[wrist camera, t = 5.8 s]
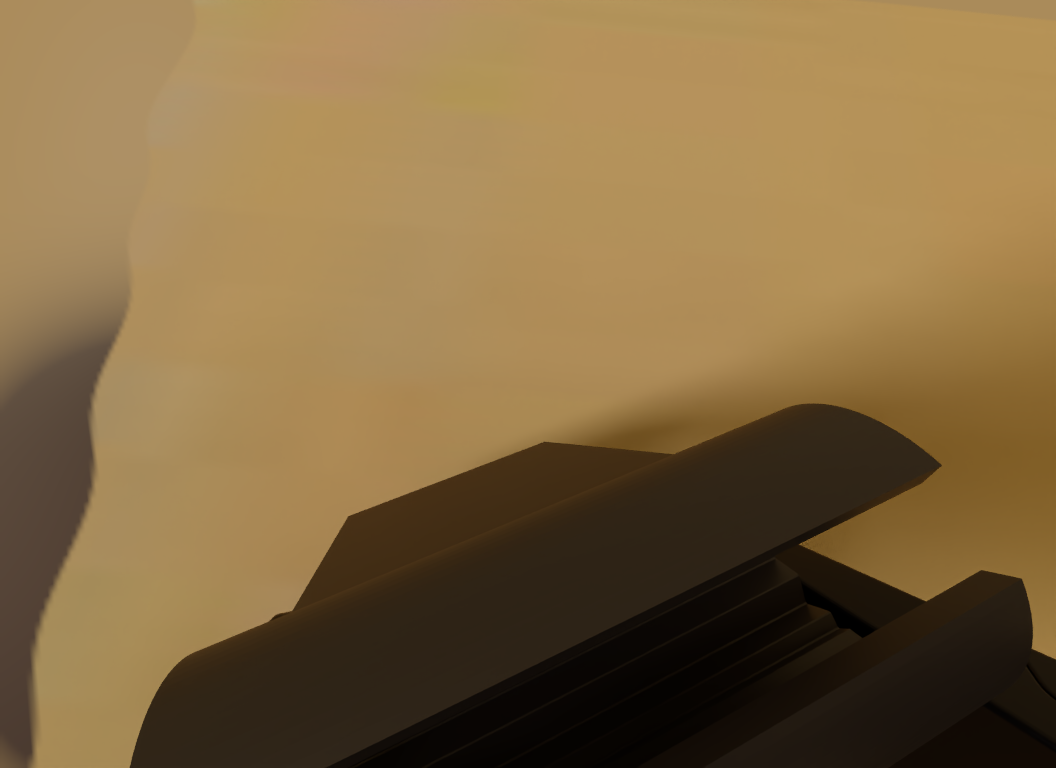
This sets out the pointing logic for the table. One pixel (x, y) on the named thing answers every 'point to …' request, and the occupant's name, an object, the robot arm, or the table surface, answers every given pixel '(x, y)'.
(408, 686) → the phone stand
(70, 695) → the table surface
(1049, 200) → the table surface
